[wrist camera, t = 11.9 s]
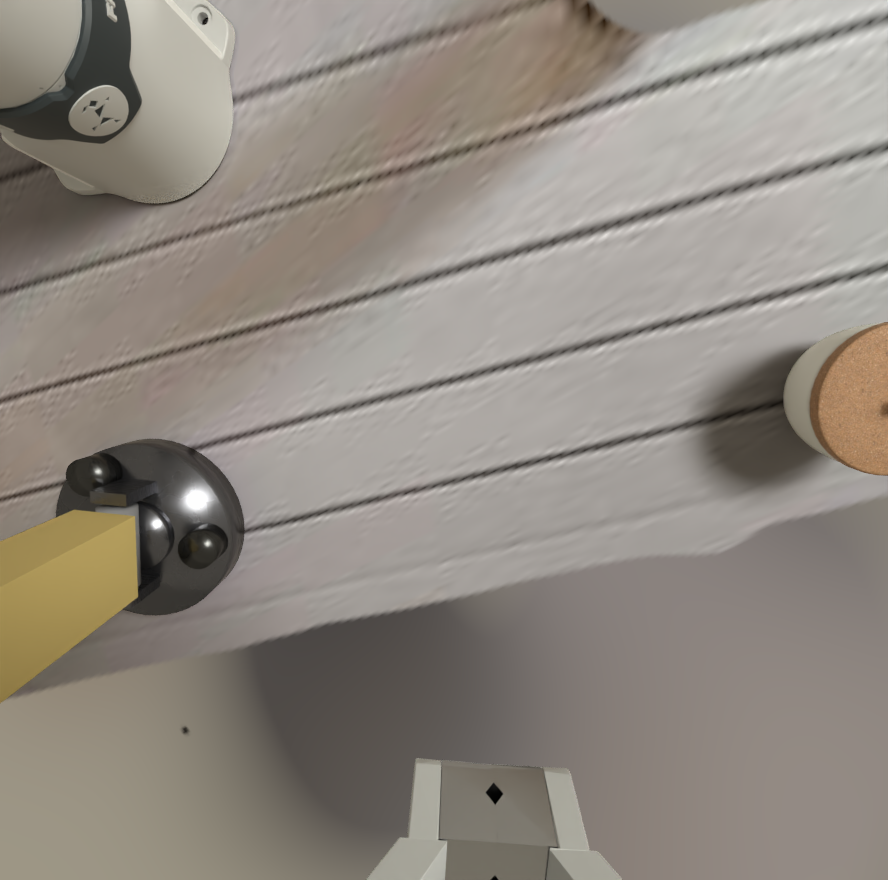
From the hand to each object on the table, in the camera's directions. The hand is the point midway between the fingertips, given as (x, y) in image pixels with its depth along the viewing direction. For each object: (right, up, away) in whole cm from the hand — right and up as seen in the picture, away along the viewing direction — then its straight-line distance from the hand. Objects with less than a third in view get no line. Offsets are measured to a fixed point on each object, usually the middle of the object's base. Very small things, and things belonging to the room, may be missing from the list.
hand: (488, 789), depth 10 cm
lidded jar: (+31, +11, +33) cm, 46 cm away
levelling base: (-28, -1, +39) cm, 48 cm away
